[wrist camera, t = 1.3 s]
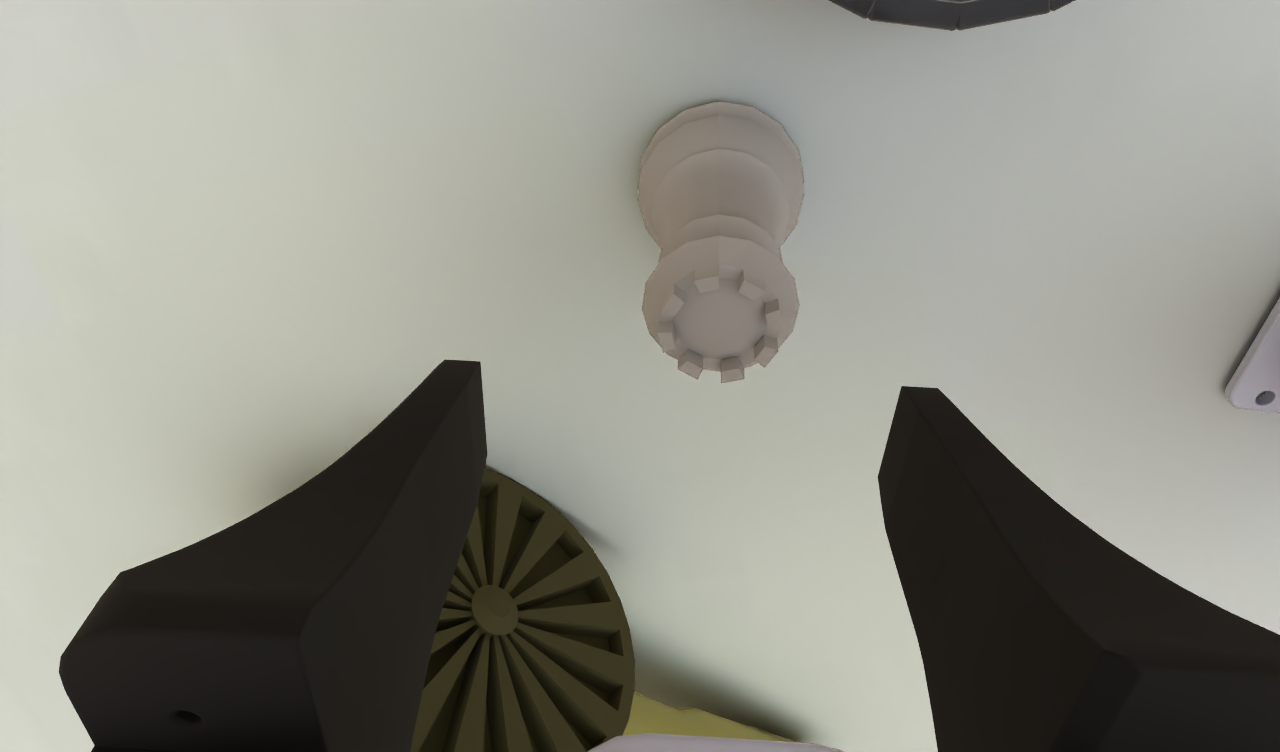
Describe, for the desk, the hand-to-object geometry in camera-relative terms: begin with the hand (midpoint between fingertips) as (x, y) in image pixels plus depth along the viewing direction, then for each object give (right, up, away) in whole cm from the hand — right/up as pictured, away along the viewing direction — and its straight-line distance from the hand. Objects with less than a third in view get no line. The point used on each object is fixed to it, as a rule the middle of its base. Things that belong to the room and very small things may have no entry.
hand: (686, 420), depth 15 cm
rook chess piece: (+1, +6, +9) cm, 11 cm away
